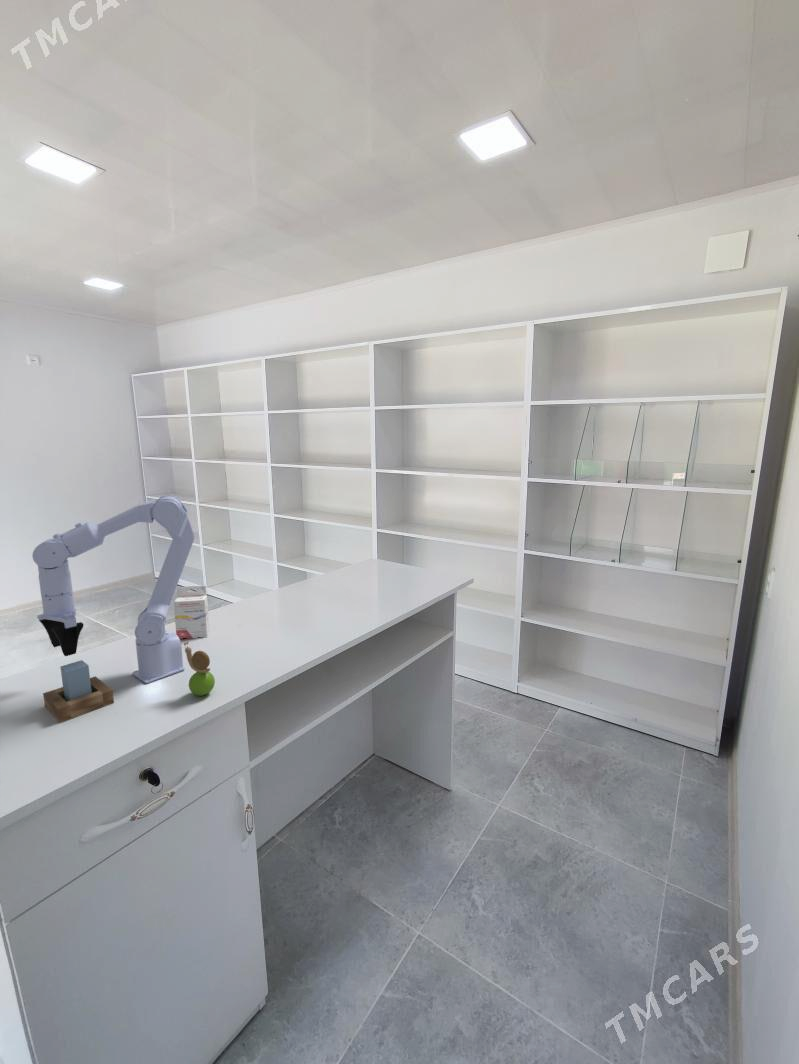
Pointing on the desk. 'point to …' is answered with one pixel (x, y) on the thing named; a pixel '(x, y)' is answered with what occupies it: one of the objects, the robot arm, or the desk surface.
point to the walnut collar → (78, 701)
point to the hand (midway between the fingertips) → (64, 650)
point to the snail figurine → (199, 672)
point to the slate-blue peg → (75, 680)
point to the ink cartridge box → (191, 612)
